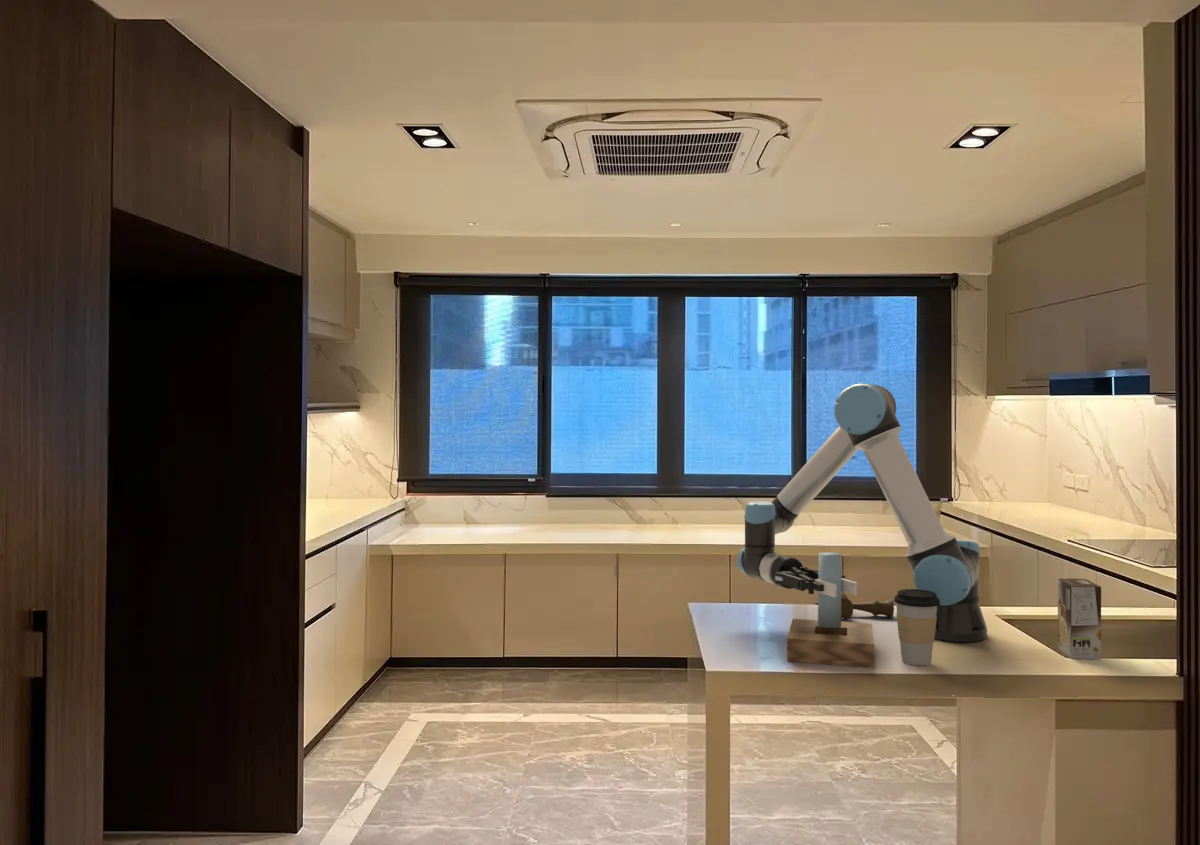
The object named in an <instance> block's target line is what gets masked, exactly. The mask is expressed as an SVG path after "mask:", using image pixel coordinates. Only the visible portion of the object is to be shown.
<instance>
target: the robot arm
mask: <svg viewBox="0 0 1200 845" xmlns="http://www.w3.org/2000/svg"><path fill="white" fill-rule="evenodd" d="M833 409H834V410H833V412H834V418H835V421H836V422H837V424H838V425H839V426H838V427H837V428H836V429H835V430H834V431H833V433H832V434H830V436H828V438H827V439H826V440H825V442H823V443H822V444H821V446H820V447H819V448H818V449H817V451H816V452H815V453H813V455H812V456H811V457H810V458H809V460H807V462H806V463H805V464H804V465H803V466H802V467H801V468H800V469H799V471H798V472H796V474H795V475H794V476H793V477H792V479H791V480H790V481H789V482H788V483H787V484H786V485H785V486H784V487H783V488H782V490H781V491H780V492H779V493H778V494H777V495H776V497H775V498H773V499H772V501H771V502H770V501H762V500H760V501H759V500H758V501H755V500H754V501H749V502H747V503H746V504H745V509H744V516H743V517H744V547H742V549H740V550H739V552H738V555H737V557H736V565H737V567H738V569H739V571H740V572H741V573H742V574H744V575H746V576H748V577H750V578H752V579H757V580H759V581H762V582H763V581H764V582H766V583H770V584H772V586H773V587H780V588H781V587H782V588H784V589H788V590H789V589H790V590H792V589H795V590H797V591H798V590H799V591H801V592H804V591H806V590H807V592H808V594H809V595H814V592H815V593H818V592H819V593H822V594H825V595H828V596H831V597H836V590H837V585H836V584H833V583H829V582H826V581H823V580H819V579H818V569H812V568H808V566H803V563H802V562H801V561H800V560H799V559H797V558H796V557H791V556H789V555H785V554H781V553H777V552H775V550H776V548H775V547H776V546H775V544H776V535H778V534H780V533H785V532H786V531H788V530H789V529H790V528H791V527H792V526H793V525H794V522H795V520H796V519H797V518H798V516H799V515H800V514H801V513H802V512H803V511H804V510H805V509H806V508H807V507H808V505H809V504H810V503H811V502H812V501H813V500H814V499H815V498H816V497H817V496H818V495H819V493H821V491H822V490H823V489H825V487H826V486H827V485H828V484H829V482H830V481H832V479H833V478H834V477H835V476H836V475H837V474H838V473H839V472H840V471H841V470H842V469H843V467H844V466H845V465H846V464H847V463H848V462H849V461H850V460H851V458H852V457H853V456H854V455H855V454H856V453H858V451H862V452H863V454H864V455H865V456H864V457H866V459H867V462H868V464H869V466H870V468H871V470H872V472H873V474H874V476H875V478H876V480H877V482H878V484H879V487H880V489H881V491H882V493H883V495H884V497H885V499H886V501H887V503H888V505H889V509H890V510H891V512H892V514H893V516H894V518H895V521H896V522H897V524H898V526H899V529H900V531H901V533H902V535H903V537H904V539H905V541H906V543H907V546H908V547H907V550H906V553H905V557H906V559H907V561H908V563H909V565H910V568H911V571H912V572H913V573H912V574H913V576H912V577H913V584H914V587H915V589H919V590H927V591H931V592H934V593H936V595H937V598H938V599H939V600H940V605H938V606H937V613H936V616H937V620H936V629H935V638H934V640H938V641H939V640H940V641H946V642H955V643H956V642H957V643H974V642H975V643H977V642H980V641H984V640H986V639H987V638H988V627H987V624H986V620H985V618H984V615H983V612H982V609H981V605H980V557H981V552H980V545H979V544H978V542H976V541H974V540H973V541H972V540H962V539H957V538H956V537H955V535H954V534H951V533H949V532H946V531H945V530H944V527H943V525H942V523H941V521H940V520H939V518H938V515H937V513H936V511H935V508H934V507H933V505H932V503H931V501H930V498H929V496H928V495H927V493H926V490H925V489H924V487H923V484H922V482H921V481H920V478H919V476H918V474H917V472H916V470H915V468H914V467H913V464H912V462H911V459H910V458H909V457H908V454H907V452H906V450H905V448H904V446H903V443H902V441H901V439H900V438H899V434H900V432H901V429H902V426H901V425H900V422H899V420H898V419H897V416H896V414H897V403H896V399H895V397H894V395H893V394H892V393H891V391H889V390H888V389H887V388H885V387H883V386H881V385H878V384H871V383H865V382H864V383H863V382H861V383H855V384H853V385H850V386H849V387H846V388H845V389H843V390H842V391H841V392H840V393H839V395H838V396H837V397H836V400H835V402H834V407H833ZM841 592H842V593H847V594H850V595H853V596H856V595H858V582H856V581H853V580H850V579H846V575H843V574H841Z"/></svg>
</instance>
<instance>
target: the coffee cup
mask: <svg viewBox="0 0 1200 845" xmlns="http://www.w3.org/2000/svg"><path fill="white" fill-rule="evenodd" d="M896 594H897V595H895V596H894V599H893V603H894V602H895V606H896V622H897V623H896V624H897V634H898V638H899V645H900V654H901V655H900V656H901V661H902V662H903V663H904V662H905V664H907V663H908V665H910V664H912V665H911V666H916V665H925V666H928V665H927V664H929V665H931V664H932V659H933V658H932V657H933V648H934V642H935V629H936V620H937V616H936V613H937V606H938V605H940V600H939V599H938V598H937V595H936V593H934V592H931V591H927V590H919V589H916V588H907V589H899V590H898V591H897V593H896ZM930 663H931V664H930Z"/></svg>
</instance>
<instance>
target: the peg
mask: <svg viewBox="0 0 1200 845" xmlns="http://www.w3.org/2000/svg"><path fill="white" fill-rule="evenodd" d="M842 556H843V555H842V554H841V553H838V552H830V551H827V552H826V551H825V552H819V553H818V560H817V561H818V568H817V570H818V579H819V580H823V581H826V582H829V583H833V584H836V585H837V590H836V597H831V596H828V595H825V594H822V593H819V592H817V594H818V597H817V603H818V605H817V620H818V625H819V626H822V627H826V628H838V627H841V622H842V619H841V593H842V591H841V575H842V566H843V565H842V562H843V561H842Z"/></svg>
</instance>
